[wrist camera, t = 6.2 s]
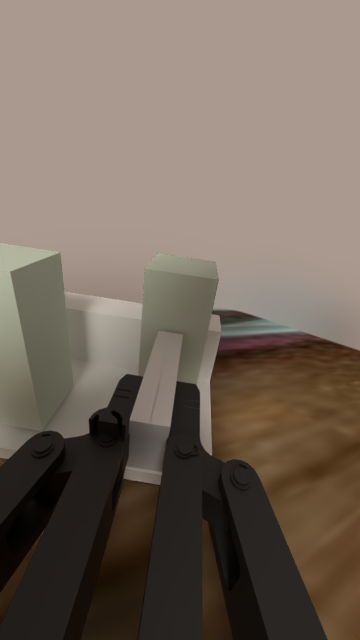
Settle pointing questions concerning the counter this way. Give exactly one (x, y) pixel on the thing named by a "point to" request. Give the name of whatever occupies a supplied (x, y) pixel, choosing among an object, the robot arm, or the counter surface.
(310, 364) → the counter surface
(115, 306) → the button panel
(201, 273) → the pale green tall block
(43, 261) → the middle button
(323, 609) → the counter surface
